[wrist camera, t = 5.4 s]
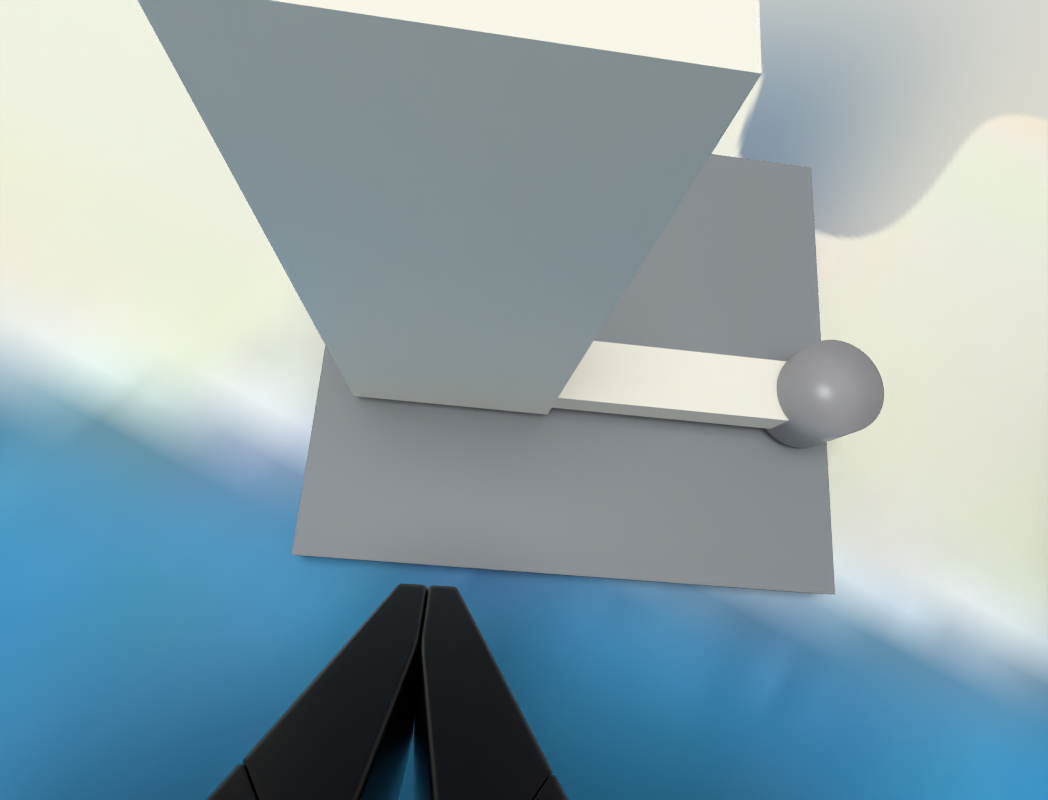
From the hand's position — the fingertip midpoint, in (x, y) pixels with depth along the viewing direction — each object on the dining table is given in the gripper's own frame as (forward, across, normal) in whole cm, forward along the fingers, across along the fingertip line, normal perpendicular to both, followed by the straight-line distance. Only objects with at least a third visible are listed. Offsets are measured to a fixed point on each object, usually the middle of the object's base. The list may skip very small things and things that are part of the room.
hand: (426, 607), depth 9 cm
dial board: (+11, +4, -1) cm, 11 cm away
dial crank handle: (+9, +4, -1) cm, 10 cm away
